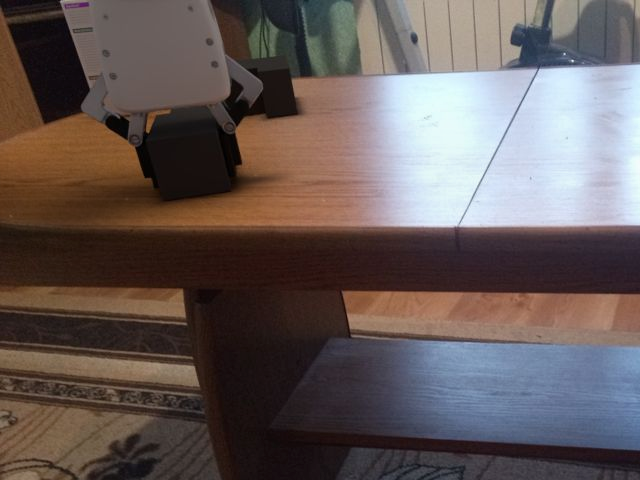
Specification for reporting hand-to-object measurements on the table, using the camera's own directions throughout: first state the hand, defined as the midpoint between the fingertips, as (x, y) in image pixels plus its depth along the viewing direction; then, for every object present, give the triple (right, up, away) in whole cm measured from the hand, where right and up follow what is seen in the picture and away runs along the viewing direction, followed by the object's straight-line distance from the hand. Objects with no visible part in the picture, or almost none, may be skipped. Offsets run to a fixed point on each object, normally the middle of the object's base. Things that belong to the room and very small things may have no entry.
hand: (196, 177), depth 69 cm
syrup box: (-21, +16, +31) cm, 41 cm away
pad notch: (-3, +14, +26) cm, 29 cm away
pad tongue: (-1, +1, +3) cm, 3 cm away
